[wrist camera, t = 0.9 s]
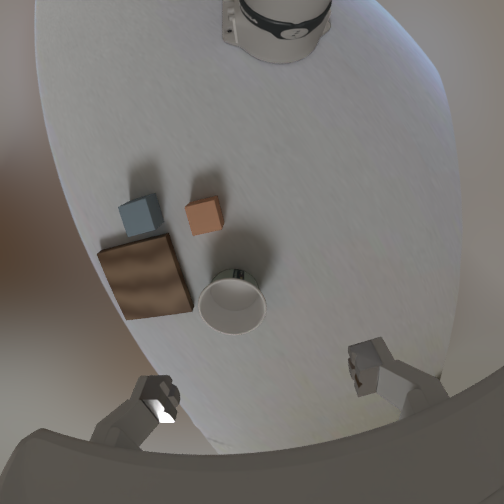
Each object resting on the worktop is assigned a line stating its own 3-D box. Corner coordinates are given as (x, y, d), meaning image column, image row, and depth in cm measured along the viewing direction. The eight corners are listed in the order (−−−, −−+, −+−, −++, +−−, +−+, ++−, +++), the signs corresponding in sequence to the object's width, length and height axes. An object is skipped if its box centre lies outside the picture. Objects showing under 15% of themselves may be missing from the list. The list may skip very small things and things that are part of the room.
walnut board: (101, 250, 50) (96, 254, 48) (168, 232, 48) (165, 236, 47) (129, 315, 56) (126, 320, 54) (194, 306, 54) (192, 311, 52)
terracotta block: (190, 202, 46) (184, 207, 43) (217, 195, 46) (214, 199, 42) (197, 228, 48) (192, 235, 45) (224, 222, 48) (221, 229, 44)
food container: (202, 261, 51) (195, 277, 45) (266, 262, 51) (268, 279, 45) (205, 314, 55) (200, 333, 49) (264, 315, 55) (265, 336, 49)
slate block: (129, 200, 46) (118, 207, 42) (155, 192, 46) (145, 198, 41) (138, 228, 48) (127, 237, 44) (164, 221, 48) (155, 229, 43)
